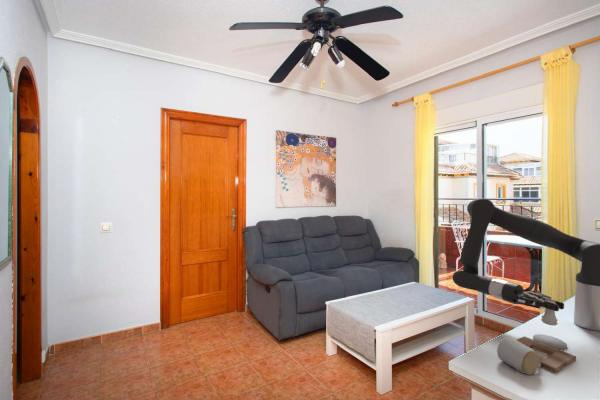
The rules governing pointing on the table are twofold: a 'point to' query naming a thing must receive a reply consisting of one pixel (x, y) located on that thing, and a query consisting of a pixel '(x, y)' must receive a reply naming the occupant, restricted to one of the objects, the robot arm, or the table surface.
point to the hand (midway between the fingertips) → (560, 307)
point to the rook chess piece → (549, 316)
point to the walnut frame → (555, 358)
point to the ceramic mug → (518, 355)
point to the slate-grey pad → (550, 341)
